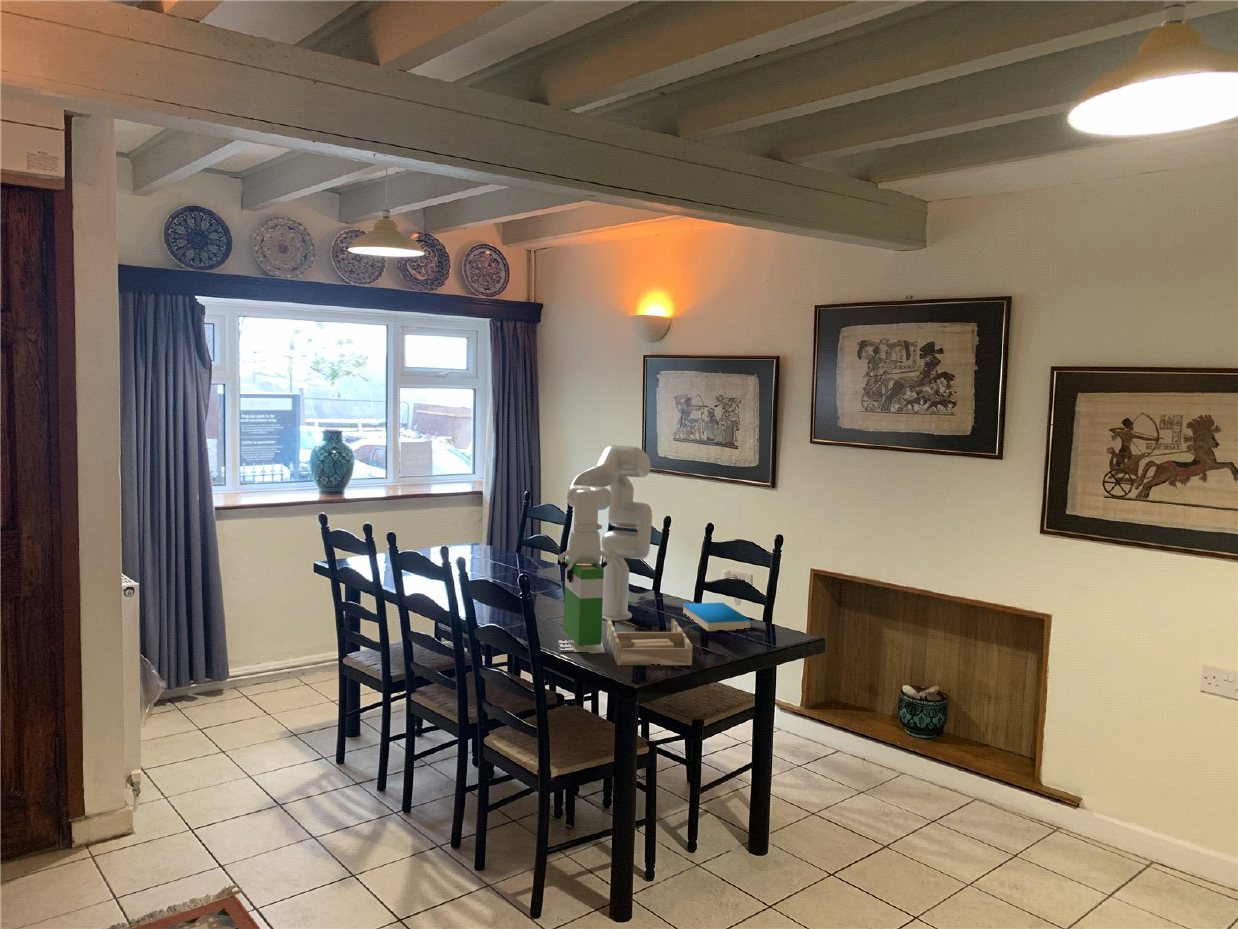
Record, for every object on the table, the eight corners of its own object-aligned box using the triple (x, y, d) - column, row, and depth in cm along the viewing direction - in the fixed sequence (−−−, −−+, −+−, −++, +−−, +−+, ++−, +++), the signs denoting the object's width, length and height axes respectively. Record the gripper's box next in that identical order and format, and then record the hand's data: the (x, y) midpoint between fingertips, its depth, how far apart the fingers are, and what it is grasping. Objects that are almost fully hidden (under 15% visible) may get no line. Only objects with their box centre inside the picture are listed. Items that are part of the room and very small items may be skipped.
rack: (606, 636, 304) (607, 615, 304) (673, 636, 307) (674, 616, 307) (617, 665, 274) (618, 642, 273) (691, 665, 277) (692, 642, 276)
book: (708, 621, 315) (682, 603, 339) (707, 633, 315) (681, 614, 339) (752, 619, 320) (724, 601, 344) (752, 631, 320) (723, 612, 344)
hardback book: (563, 630, 297) (565, 558, 295) (585, 629, 300) (587, 558, 297) (578, 646, 281) (581, 570, 278) (601, 644, 283) (603, 569, 281)
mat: (558, 641, 296) (558, 640, 296) (601, 642, 297) (601, 640, 297) (560, 653, 284) (560, 651, 284) (604, 653, 285) (604, 651, 285)
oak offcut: (630, 649, 282) (631, 640, 282) (667, 648, 285) (667, 638, 285) (635, 655, 276) (636, 645, 276) (673, 653, 279) (673, 644, 279)
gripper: (611, 526, 292) (609, 579, 293) (557, 525, 290) (555, 579, 291) (614, 530, 284) (612, 585, 286) (558, 529, 282) (557, 584, 284)
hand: (583, 581), depth 289 cm, fingers closed on hardback book, 8 cm apart
